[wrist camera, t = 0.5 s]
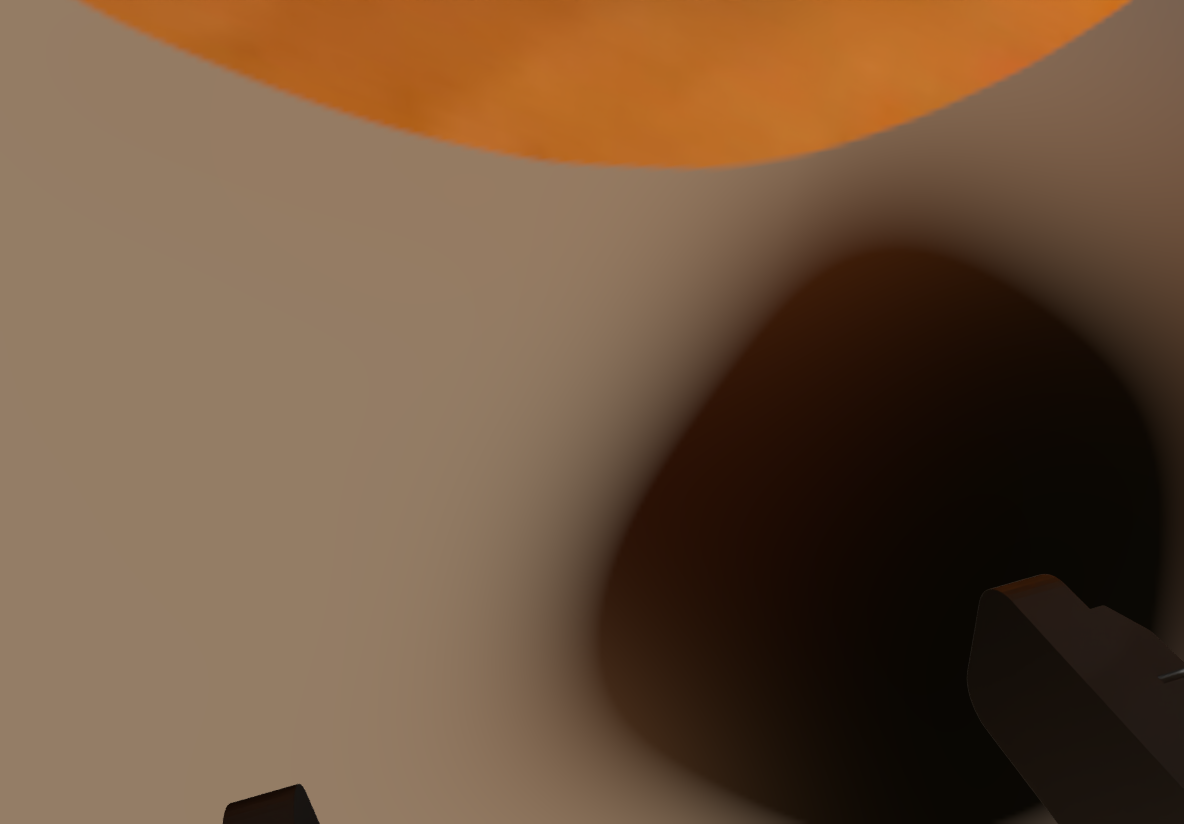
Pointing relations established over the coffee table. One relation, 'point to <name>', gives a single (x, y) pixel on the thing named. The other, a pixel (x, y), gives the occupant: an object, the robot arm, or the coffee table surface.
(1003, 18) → the coffee table surface
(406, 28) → the coffee table surface
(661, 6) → the coffee table surface
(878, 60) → the coffee table surface
